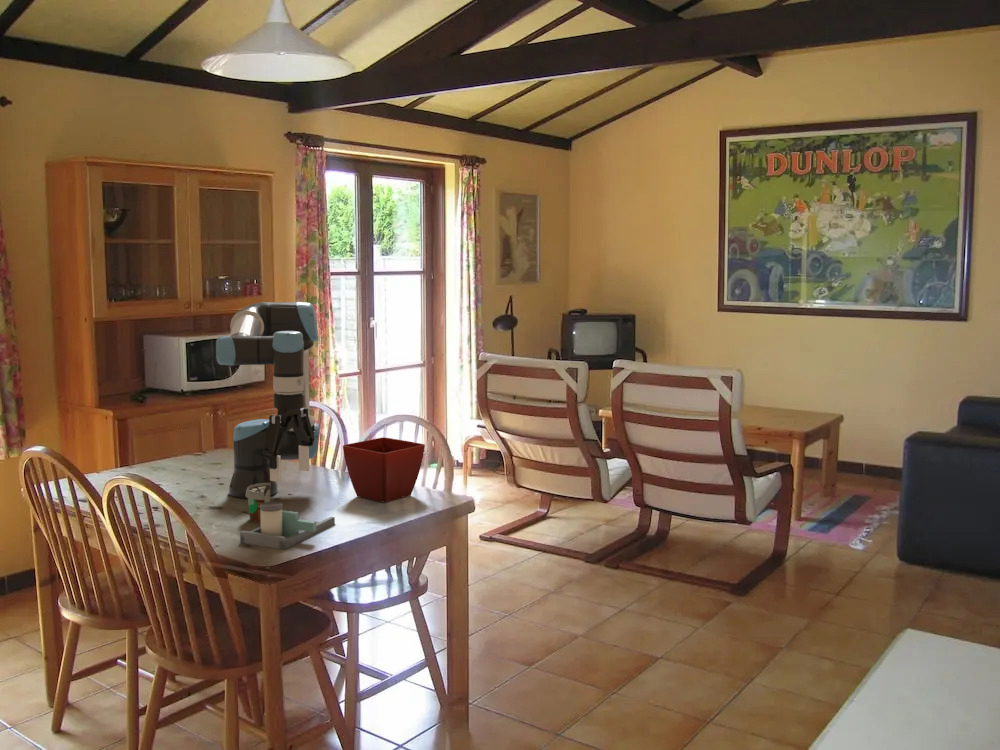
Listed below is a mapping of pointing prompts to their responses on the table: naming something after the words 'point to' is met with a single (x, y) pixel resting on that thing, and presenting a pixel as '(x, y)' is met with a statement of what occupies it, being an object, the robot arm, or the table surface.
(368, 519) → the table surface
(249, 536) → the grey tray
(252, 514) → the food container
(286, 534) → the pusher
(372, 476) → the plant pot
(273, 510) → the jar
